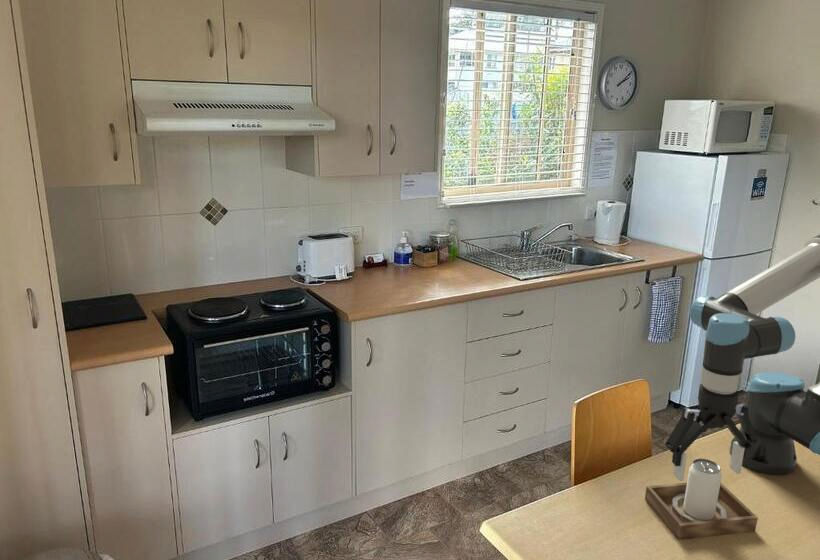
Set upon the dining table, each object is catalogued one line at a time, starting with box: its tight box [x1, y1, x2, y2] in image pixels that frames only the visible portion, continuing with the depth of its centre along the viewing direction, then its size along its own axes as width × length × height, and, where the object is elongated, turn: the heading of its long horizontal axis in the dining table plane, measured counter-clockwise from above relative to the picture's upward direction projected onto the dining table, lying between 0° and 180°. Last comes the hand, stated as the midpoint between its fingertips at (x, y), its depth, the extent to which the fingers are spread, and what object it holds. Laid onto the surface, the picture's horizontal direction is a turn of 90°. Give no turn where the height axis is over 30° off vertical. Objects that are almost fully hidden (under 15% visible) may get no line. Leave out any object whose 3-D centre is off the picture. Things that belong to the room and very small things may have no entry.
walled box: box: [644, 482, 759, 541], centre depth 142 cm, size 18×14×4 cm
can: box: [684, 458, 722, 521], centre depth 141 cm, size 6×6×12 cm
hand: (706, 474), depth 140 cm, fingers open, 13 cm apart
